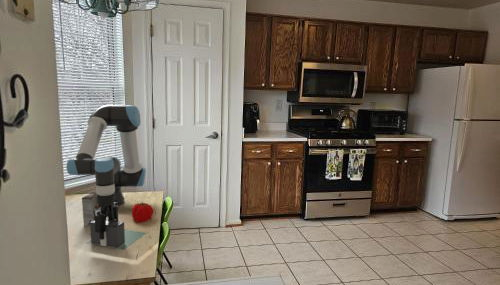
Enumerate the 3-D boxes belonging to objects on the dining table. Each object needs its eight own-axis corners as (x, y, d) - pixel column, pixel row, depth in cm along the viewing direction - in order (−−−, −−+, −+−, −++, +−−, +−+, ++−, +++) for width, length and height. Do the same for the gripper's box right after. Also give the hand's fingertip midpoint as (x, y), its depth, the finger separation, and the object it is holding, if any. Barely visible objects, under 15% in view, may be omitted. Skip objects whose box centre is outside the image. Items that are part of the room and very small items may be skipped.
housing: (98, 238, 154) (97, 218, 152) (124, 242, 150) (124, 222, 149) (91, 243, 149) (89, 222, 148) (117, 247, 146) (116, 226, 144)
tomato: (129, 226, 173) (129, 207, 171) (134, 216, 185) (133, 199, 183) (152, 225, 174) (151, 206, 173) (155, 216, 187) (154, 198, 185)
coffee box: (95, 220, 179) (93, 192, 176) (105, 221, 178) (104, 193, 175) (83, 227, 170) (81, 197, 167) (94, 228, 169) (92, 198, 166)
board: (112, 230, 167) (111, 218, 166) (146, 235, 162) (146, 224, 161) (85, 246, 150) (85, 233, 149) (123, 252, 145) (123, 240, 144)
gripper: (111, 186, 156) (114, 233, 159) (83, 198, 138) (86, 250, 142) (125, 188, 154) (127, 235, 157) (98, 200, 136) (101, 253, 140)
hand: (108, 242), depth 150 cm, fingers closed on housing, 5 cm apart
